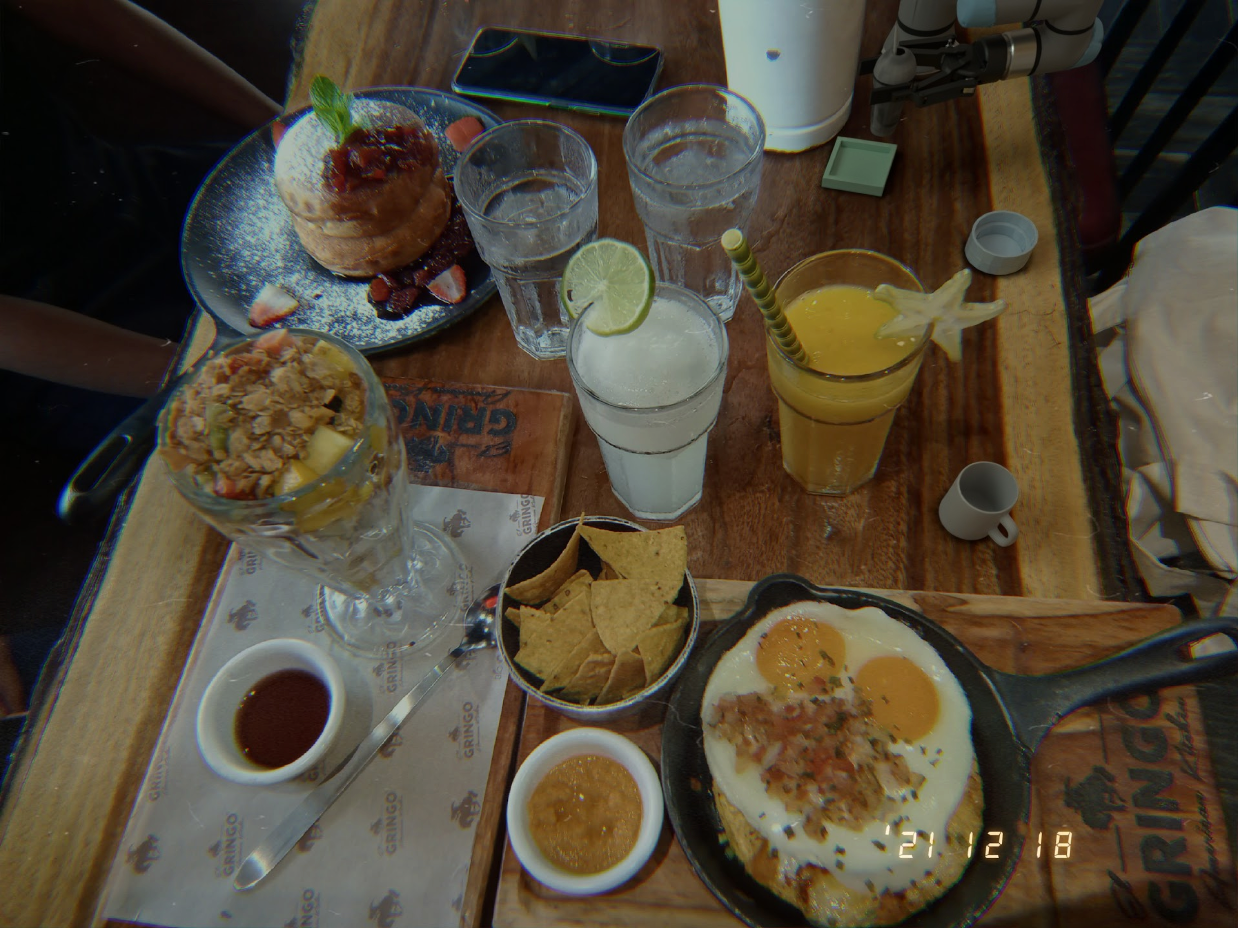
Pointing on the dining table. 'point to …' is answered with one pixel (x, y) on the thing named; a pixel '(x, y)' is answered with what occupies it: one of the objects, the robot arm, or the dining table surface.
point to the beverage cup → (891, 71)
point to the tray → (859, 166)
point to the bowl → (1001, 242)
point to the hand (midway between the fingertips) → (865, 82)
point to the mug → (981, 503)
